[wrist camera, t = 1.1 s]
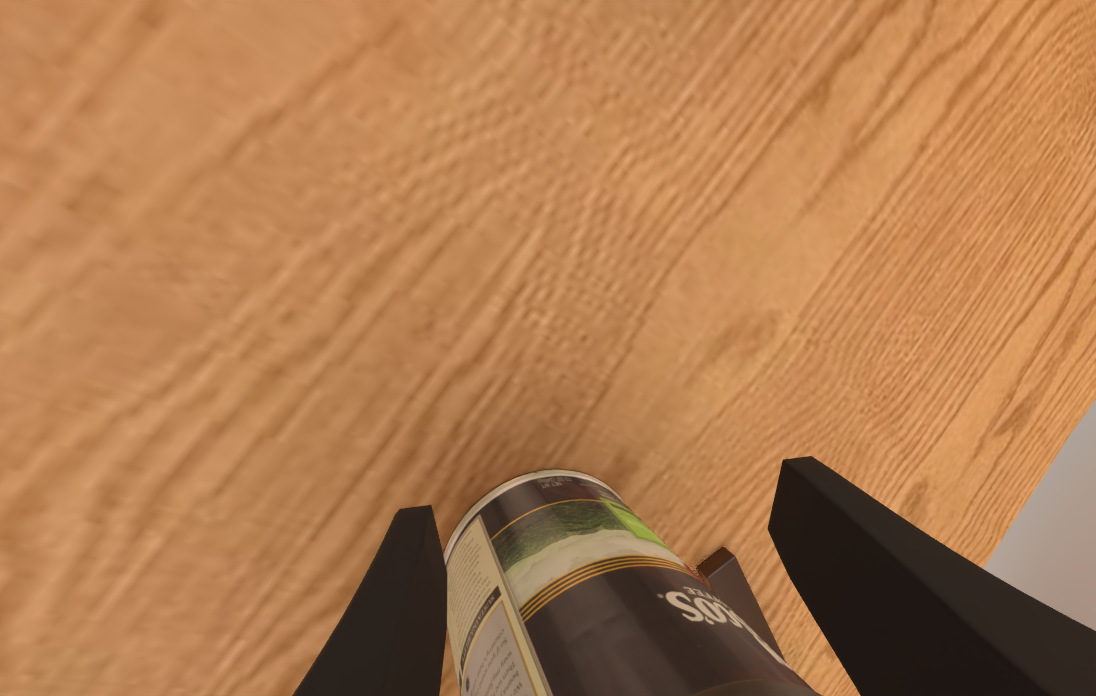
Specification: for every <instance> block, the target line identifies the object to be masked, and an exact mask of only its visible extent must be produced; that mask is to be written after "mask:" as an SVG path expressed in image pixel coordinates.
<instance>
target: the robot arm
mask: <svg viewBox="0 0 1096 696" xmlns="http://www.w3.org/2000/svg"><path fill="white" fill-rule="evenodd" d="M768 531H769V533H770V535H771V538H772V540H773V542H774V545H775V547H776V549H777V551H778V554H779V556H780V558H781V560H782V562H783V564H784V567H785V569H786V571H787V573H788V575H789V577H790V579H791V580H792V582H793V584H794V586H795V587H796V589H797V591H798V592H799V594H800V596H801V597H802V599H803V601H804V602H805V604H806V606H807V607H808V609H809V611H810V612H811V614H812V616H813V617H814V619H815V621H816V622H817V624H818V626H819V627H820V629H821V631H822V632H823V634H824V635H825V637H826V639H827V640H828V642H829V644H830V645H831V647H832V649H833V650H834V652H835V654H836V655H837V657H838V658H839V660H840V662H841V663H842V665H843V667H844V668H845V670H846V672H847V673H848V675H849V677H850V678H851V680H852V682H853V683H854V685H855V686H856V688H857V690H858V692H859V693H860V695H861V696H1096V631H1094V630H1092V629H1091V628H1088V627H1086V626H1085V625H1083V624H1081V623H1079V622H1077V621H1075V620H1073V619H1071V618H1069V617H1067V616H1066V615H1064V614H1062V613H1060V612H1058V611H1056V610H1055V609H1053V608H1051V607H1049V606H1047V605H1045V604H1043V603H1042V602H1040V601H1038V600H1036V599H1034V598H1033V597H1031V596H1029V595H1027V594H1025V593H1023V592H1022V591H1020V590H1018V589H1016V588H1014V587H1013V586H1011V585H1009V584H1008V583H1006V582H1004V581H1002V580H1001V579H999V578H997V577H995V576H994V575H992V574H990V573H989V572H987V571H985V570H984V569H982V568H981V567H979V566H977V565H976V564H974V563H972V562H971V561H969V560H967V559H966V558H964V557H963V556H961V555H959V554H958V553H956V552H954V551H953V550H951V549H950V548H948V547H946V546H945V545H943V544H942V543H940V542H939V541H937V540H935V539H934V538H932V537H931V536H929V535H928V534H926V533H925V532H923V531H922V530H920V529H918V528H917V527H915V526H914V525H912V524H911V523H909V522H908V521H906V520H905V519H903V518H902V517H900V516H899V515H897V514H896V513H894V512H893V511H892V510H890V509H889V508H887V507H886V506H884V505H883V504H881V503H880V502H878V501H877V500H875V499H874V498H872V497H871V496H870V495H868V494H867V493H865V492H864V491H862V490H861V489H859V488H858V487H856V486H855V485H854V484H852V483H851V482H849V481H848V480H846V479H845V478H843V477H842V476H840V475H839V474H838V473H836V472H835V471H833V470H832V469H830V468H829V467H827V466H826V465H824V464H823V463H821V462H820V461H818V460H816V459H815V458H813V457H812V456H808V457H801V458H793V459H785V460H783V462H782V466H781V471H780V475H779V480H778V484H777V489H776V493H775V498H774V502H773V507H772V511H771V516H770V520H769V525H768ZM447 574H448V573H447V569H446V565H445V560H444V556H443V552H442V548H441V544H440V539H439V535H438V531H437V527H436V523H435V519H434V514H433V510H432V506H431V505H427V506H419V507H412V508H404V509H400V510H399V511H398V512H397V513H396V514H395V516H394V518H393V520H392V522H391V525H390V527H389V529H388V531H387V533H386V535H385V537H384V540H383V542H382V544H381V546H380V548H379V550H378V552H377V554H376V556H375V558H374V559H373V561H372V563H371V565H370V567H369V569H368V571H367V573H366V575H365V577H364V579H363V580H362V582H361V584H360V586H359V588H358V589H357V591H356V593H355V595H354V596H353V598H352V600H351V602H350V604H349V605H348V607H347V609H346V611H345V613H344V614H343V616H342V618H341V619H340V621H339V623H338V625H337V626H336V628H335V629H334V631H333V633H332V634H331V636H330V637H329V639H328V641H327V642H326V644H325V646H324V647H323V649H322V650H321V652H320V654H319V655H318V657H317V658H316V660H315V662H314V663H313V665H312V667H311V668H310V670H309V671H308V673H307V674H306V676H305V677H304V679H303V680H302V682H301V683H300V685H299V686H298V688H297V689H296V691H295V692H294V694H293V695H292V696H439V693H440V684H441V676H442V667H443V658H444V649H445V640H446V630H447Z"/></svg>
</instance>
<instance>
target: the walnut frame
mask: <svg viewBox="0 0 1096 696" xmlns="http://www.w3.org/2000/svg"><path fill="white" fill-rule="evenodd" d="M697 569H698V571H699V573H700V575H701V577H702V579H703V581H704V583H705V584H706V585H707V586H708V587H709V588H710V589H711V590H712V591H713V592H714V593H715V594H716V595H717V596H718V597H719V598H720V599H721V600H722V601H723V602H724V603H725V604H726V605H727V606H728V607H729V608H730V609H731V610H732V611H733V612H734V613H736V614H737V615H738V616H739V617H740V618H741V619H742V620H743V621H744V622H745V623H746V624H747V625H748V626H749V627H750V628H751V629H752V630H753V631H754V632H755V633H756V634H757V635H758V636H759V637H760V638H761V639H762V640H763V641H764V642H765V643H766V644H767V645H768V646H769V647H770V648H771V649H772V650H773V651H774V652H775V653H776V654H777V655H778V656H779V657H780V658H781V659H782V660H783V661H784V662H785V659H784V657H783V655H782V653H781V651H780V649H779V647H778V645H777V643H776V641H775V639H774V636H773V634H772V632H771V630H770V628H769V626H768V624H767V622H766V620H765V618H764V616H763V613H762V611H761V609H760V607H759V605H758V603H757V601H756V599H755V597H754V595H753V593H752V590H751V588H750V586H749V584H748V582H747V580H746V578H745V576H744V574H743V572H742V570H741V567H740V565H739V563H738V561H737V559H736V557H735V556H734V555H733V554H732V553H731V552H730V551H728V550H727V549H726V548H725V547H723V548H722V549H720V550H719V551H718V552H717V553H715V554H714V555H713V556H711V557H710V558H709V559H708V560H706V561H705V562H704V563H702V564H701V565H700V566H698V568H697ZM785 663H786V662H785Z"/></svg>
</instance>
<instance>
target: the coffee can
mask: <svg viewBox="0 0 1096 696" xmlns="http://www.w3.org/2000/svg"><path fill="white" fill-rule="evenodd" d="M443 556H444V560H445V565H446V569H447V573H448V574H447V629H448V634H449V639H450V645H451V650H452V655H453V660H454V666H455V671H456V676H457V681H458V686H459V691H460V696H822V695H820V694H818V693H817V692H815V691H814V690H813V689H812V688H811V687H810V686H809V685H808V684H807V683H806V682H805V681H803V680H802V679H801V678H800V677H799V676H798V675H797V674H796V673H795V672H794V671H793V670H792V669H791V668H790V667H789V666H788V665H787V664H786V663H785V662H784V661H783V660H782V659H781V658H780V657H779V656H778V655H777V654H776V653H775V652H774V651H773V650H772V649H771V648H770V647H769V646H768V645H767V644H766V643H765V642H764V641H763V640H762V639H761V638H760V637H759V636H758V635H757V634H756V633H755V632H754V631H753V630H752V629H751V628H750V627H749V626H748V625H747V624H746V623H745V622H744V621H743V620H742V619H741V618H740V617H739V616H738V615H737V614H736V613H734V612H733V611H732V610H731V609H730V608H729V607H728V606H727V605H726V604H725V603H724V602H723V601H722V600H721V599H720V598H719V597H718V596H717V595H716V594H715V593H714V592H713V591H712V590H711V589H710V588H709V587H708V586H707V585H706V584H705V583H704V582H703V581H702V580H701V579H700V578H699V577H698V576H697V575H696V574H695V573H694V572H693V571H692V570H691V569H690V568H689V567H688V566H687V565H686V564H685V563H684V562H683V561H681V560H680V559H679V558H678V557H677V556H676V555H675V554H674V553H673V552H672V551H671V550H670V549H669V548H668V547H667V546H666V545H665V544H664V543H663V542H662V541H661V540H660V539H659V538H658V537H657V536H656V535H655V534H654V533H653V532H652V531H651V530H650V529H649V528H648V527H647V526H646V525H645V524H644V523H643V522H642V521H641V520H640V519H639V518H638V517H637V516H636V515H635V514H634V513H633V512H632V511H631V510H630V509H629V508H628V507H627V506H626V505H625V504H624V502H623V501H622V499H621V498H620V497H619V495H618V494H617V493H616V492H615V491H613V490H612V489H611V488H610V487H609V486H607V485H606V484H605V483H603V482H601V481H600V480H598V479H596V478H594V477H592V476H589V475H587V474H583V473H580V472H575V471H571V470H561V469H550V470H541V471H537V472H532V473H528V474H525V475H522V476H519V477H517V478H514V479H512V480H510V481H508V482H506V483H504V484H502V485H500V486H498V487H497V488H495V489H494V490H492V491H491V492H489V493H488V494H487V495H485V496H484V497H483V498H482V499H481V500H479V501H478V502H477V503H476V504H475V505H474V506H473V507H472V508H471V509H470V510H469V511H468V512H467V513H466V515H465V516H464V517H463V519H462V520H461V522H460V523H459V524H458V526H457V527H456V529H455V530H454V532H453V534H452V536H451V538H450V540H449V542H448V544H447V547H446V549H445V552H444V555H443Z"/></svg>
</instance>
